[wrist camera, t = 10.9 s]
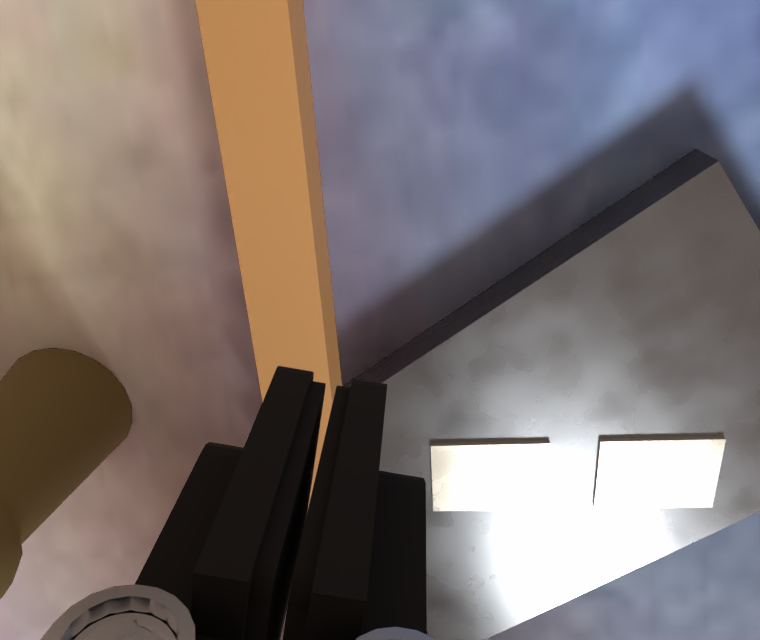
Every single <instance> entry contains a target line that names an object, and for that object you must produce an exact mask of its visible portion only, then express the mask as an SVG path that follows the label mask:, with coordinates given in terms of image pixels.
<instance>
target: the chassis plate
mask: <svg viewBox="0 0 760 640" xmlns="http://www.w3.org/2000/svg"><path fill="white" fill-rule="evenodd" d="M355 379H360V380H366V381H372V382H378V383H383V384H387V393H386V404H385V414H384V425H383V435H382V446H381V456H380V466H379V471H385V472H391V473H397V474H403V475H409V476H415V477H421V478H424V479H425V483H426V602H427V632H428V633H429V634H430V635H431V636H432V637H433V638H435V639H437V640H485V639H488V638H490V637H492V636H494V635H496V634H498V633H500V632H503V631H505V630H507V629H509V628H511V627H513V626H515V625H518V624H520V623H522V622H524V621H526V620H528V619H530V618H533V617H535V616H537V615H539V614H541V613H543V612H545V611H548V610H550V609H552V608H554V607H556V606H558V605H560V604H563V603H565V602H567V601H569V600H571V599H573V598H575V597H578V596H580V595H582V594H584V593H586V592H588V591H590V590H593V589H595V588H597V587H599V586H601V585H603V584H605V583H608V582H610V581H612V580H614V579H616V578H618V577H620V576H623V575H625V574H627V573H629V572H631V571H633V570H635V569H638V568H640V567H642V566H644V565H646V564H648V563H650V562H653V561H655V560H657V559H659V558H661V557H663V556H665V555H668V554H670V553H672V552H674V551H676V550H678V549H680V548H683V547H685V546H687V545H689V544H691V543H693V542H695V541H697V540H700V539H702V538H704V537H706V536H708V535H710V534H712V533H715V532H717V531H719V530H721V529H723V528H725V527H727V526H730V525H732V524H734V523H736V522H738V521H740V520H742V519H745V518H747V517H749V516H751V515H753V514H755V513H757V512H760V231H759V229H758V227H757V226H756V224H755V222H754V220H753V219H752V217H751V215H750V214H749V212H748V210H747V208H746V207H745V205H744V203H743V202H742V200H741V198H740V197H739V195H738V193H737V191H736V190H735V188H734V186H733V185H732V183H731V181H730V180H729V178H728V176H727V174H726V173H725V171H724V169H723V168H722V166H721V164H720V163H719V161H718V160H716V159H714V158H712V157H710V156H708V155H706V154H705V153H703V152H701V151H699V150H697V149H695V150H694V151H692V152H691V153H689V154H688V155H686V156H685V157H683V158H682V159H680V160H679V161H677V162H676V163H674V164H673V165H672V166H670V167H669V168H667V169H666V170H664V171H663V172H661V173H660V174H658V175H657V176H655V177H654V178H652V179H651V180H649V181H648V182H646V183H645V184H643V185H642V186H640V187H639V188H637V189H636V190H634V191H633V192H631V193H630V194H628V195H627V196H625V197H624V198H623V199H621V200H620V201H618V202H617V203H615V204H614V205H612V206H611V207H609V208H608V209H606V210H605V211H603V212H602V213H600V214H599V215H597V216H596V217H594V218H593V219H591V220H590V221H588V222H587V223H585V224H584V225H582V226H581V227H579V228H578V229H577V230H575V231H574V232H572V233H571V234H569V235H568V236H566V237H565V238H563V239H562V240H560V241H559V242H557V243H556V244H554V245H553V246H551V247H550V248H548V249H547V250H545V251H544V252H542V253H541V254H539V255H538V256H536V257H535V258H533V259H532V260H530V261H529V262H528V263H526V264H525V265H523V266H522V267H520V268H519V269H517V270H516V271H514V272H513V273H511V274H510V275H508V276H507V277H505V278H504V279H502V280H501V281H499V282H498V283H496V284H495V285H493V286H492V287H490V288H489V289H487V290H486V291H484V292H483V293H481V294H480V295H479V296H477V297H476V298H474V299H473V300H471V301H470V302H468V303H467V304H465V305H464V306H462V307H461V308H459V309H458V310H456V311H455V312H453V313H452V314H450V315H449V316H447V317H446V318H444V319H443V320H441V321H440V322H438V323H437V324H435V325H434V326H432V327H431V328H430V329H428V330H427V331H425V332H424V333H422V334H421V335H419V336H418V337H416V338H415V339H413V340H412V341H410V342H409V343H407V344H406V345H404V346H403V347H401V348H400V349H398V350H397V351H395V352H394V353H392V354H391V355H389V356H388V357H386V358H385V359H383V360H382V361H381V362H379V363H378V364H376V365H375V366H373V367H372V368H370V369H369V370H367V371H366V372H364V373H363V374H361V375H360V376H358V377H357V378H355ZM351 383H352V381H351V382H349V383H348V384H346V385H345V387H351Z"/></svg>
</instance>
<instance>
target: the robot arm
mask: <svg viewBox="0 0 760 640" xmlns="http://www.w3.org/2000/svg"><path fill="white" fill-rule="evenodd" d="M313 378H314V372H313V371H307V370H301V369H295V368H289V367H283V366H278V367H277V368H276V371H275V373H274V376H273V378H272V380H271V383H270V385H269V388H268V390H267V393H266V395H265V398H264V400H263V402H262V405H261V407H260V410H259V412H258V415H257V417H256V420H255V422H254V424H253V427H252V429H251V432H250V434H249V437H248V439H247V442H246V444H245V446H244V448H242V447H236V446H230V445H224V444H218V443H212V442H209V443H207V444H206V445H205V447H204V448H203V450H202V452H201V454H200V456H199V458H198V460H197V462H196V464H195V466H194V468H193V470H192V472H191V474H190V476H189V478H188V480H187V482H186V484H185V486H184V488H183V490H182V492H181V494H180V496H179V498H178V500H177V502H176V504H175V506H174V508H173V510H172V512H171V514H170V516H169V518H168V520H167V522H166V524H165V526H164V528H163V530H162V531H161V533H160V535H159V537H158V539H157V541H156V543H155V545H154V547H153V549H152V551H151V553H150V555H149V557H148V559H147V561H146V563H145V565H144V567H143V569H142V571H141V573H140V575H139V577H138V579H137V581H136V583H135V585H124V586H114V587H111V588H108V589H105V590H102V591H99V592H96V593H93V594H91V595H89V596H87V597H86V598H84V599H82V600H81V601H79V602H77V603H76V604H74V605H72V606H71V607H70V608H69V609H68V610H67V611H66V612H65V613H64V614H63V615H62V616H60V617H59V618H58V619H57V620H56V621H55V622H54V623H53V625H52V626H51V627H50V628H49V630H48V631H47V632H46V633H45V635H44V636H43V637H42V638H41V640H280V637H281V632H282V628H283V624H284V619H285V615H286V621H285V629H284V636H283V640H437V639H435V638H433V637H430V636H428V635H427V602H426V483H425V479H424V478H421V477H415V476H409V475H403V474H397V473H391V472H385V471H379V466H380V456H381V446H382V435H383V425H384V414H385V404H386V393H387V384H383V383H378V382H372V381H366V380H360V379H354V378H352V383H351V387H345V386H339V385H337V386H336V391H335V395H334V399H333V404H332V408H331V412H330V417H329V421H328V425H327V430H326V434H325V438H324V443H323V447H322V451H321V456H320V460H319V464H318V469H317V473H316V477H315V482H314V486H313V490H312V495H311V499H310V503H309V498H310V491H311V485H312V478H313V471H314V464H315V457H316V450H317V443H318V436H319V429H320V422H321V415H322V408H323V402H324V395H325V387H326V383H321V382H315V381H313ZM308 505H309V508H308ZM287 606H288V607H287ZM286 610H287V614H286Z"/></svg>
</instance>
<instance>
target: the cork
mask: <svg viewBox="0 0 760 640" xmlns="http://www.w3.org/2000/svg"><path fill="white" fill-rule="evenodd" d="M131 424H132V406H131V403H130V401H129V398H128V396H127V393H126V391H125V388H124V387H123V386H122V385H121V383H120V382H119V381H118V380H117V378H116V377H115V376H114V375H113V373H112V372H110V371H109V370H108V369H106V368H105V367H104V366H102V365H101V364H100V363H98V362H97V361H96V360H94V359H92V358H89V357H87V356H85V355H82V354H80V353H78V352H75V351H70V350H63V349H57V348H50V349H42V350H35V351H32V352H30V353H29V354H27V355H25V356H23V357H21V358H19V359H18V360H17V361H16V362H15V364H14V365H13V366H12V367H11V369H10V370H9V371H8V372H7V374H6V375H5V376H4V377H3V379H2V380H1V381H0V599H1V598H2V597H3V595H4V594H5V593H6V591H7V590H8V588H9V587H10V585H11V584H12V582H13V579H14V577H15V574H16V571H17V569H18V566H19V563H20V559H21V556H22V546H21V544H22V543H23V542H24V541H25V540H26V539H27V538H28V537H29V536H30V535H31V534H32V533H33V532H34V531H35V530H36V529H37V528H38V527H39V526H40V525H41V524H42V523H43V522H44V521H45V520H46V519H47V518H48V517H49V516H50V515H51V514H52V513H53V512H54V511H55V509H56V508H57V507H58V506H59V505H60V504H61V503H62V502H63V501H64V500H65V499H66V498H67V497H68V496H69V495H70V494H71V493H72V492H73V491H74V490H75V489H76V488H77V487H78V486H79V485H80V484H81V483H82V482H83V481H84V480H85V479H86V478H87V477H88V476H89V475H90V474H91V473H92V472H93V471H94V470H95V469H96V468H97V467H98V466H99V465H100V464H101V463H102V461H103V460H104V459H105V458H106V457H107V456H108V455H109V454H110V453H111V452H112V451H113V450H114V449H115V448H116V447H117V446H118V445H119V444H120V443H121V442H122V441H123V440H124V439H125V438H126V437H127V435H128V432H129V429H130V427H131Z"/></svg>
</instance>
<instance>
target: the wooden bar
mask: <svg viewBox="0 0 760 640" xmlns="http://www.w3.org/2000/svg"><path fill="white" fill-rule="evenodd" d="M195 1H196V7H197V13H198V19H199V25H200V31H201V37H202V43H203V49H204V55H205V61H206V67H207V73H208V79H209V85H210V91H211V97H212V103H213V109H214V115H215V121H216V127H217V133H218V139H219V145H220V151H221V157H222V163H223V169H224V175H225V181H226V187H227V193H228V199H229V205H230V211H231V217H232V223H233V229H234V235H235V241H236V247H237V253H238V259H239V265H240V271H241V277H242V283H243V289H244V295H245V301H246V307H247V313H248V319H249V325H250V331H251V336H252V342H253V348H254V354H255V360H256V366H257V372H258V378H259V384H260V390H261V396H262V402H263V400H264V398H265V395H266V393H267V390H268V388H269V385H270V383H271V380H272V378H273V376H274V373H275V371H276V368H277V367H278V366H283V367H289V368H295V369H301V370H307V371H313V372H314V378H313V381H315V382H321V383H326V387H325V395H324V402H323V408H322V415H321V422H320V429H319V436H318V443H317V450H316V457H315V464H314V471H313V478H312V485H311V491H310V498H309V503H310V499H311V495H312V490H313V486H314V482H315V477H316V473H317V469H318V464H319V460H320V456H321V451H322V447H323V443H324V438H325V434H326V430H327V425H328V421H329V417H330V412H331V408H332V404H333V399H334V395H335V391H336V386H337V385H339V386H342V380H341V370H340V361H339V351H338V341H337V331H336V321H335V312H334V302H333V292H332V282H331V272H330V263H329V253H328V243H327V233H326V223H325V214H324V204H323V194H322V184H321V174H320V165H319V155H318V145H317V135H316V125H315V116H314V106H313V96H312V86H311V76H310V67H309V57H308V47H307V37H306V27H305V18H304V8H303V0H195ZM308 508H309V505H308Z"/></svg>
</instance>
